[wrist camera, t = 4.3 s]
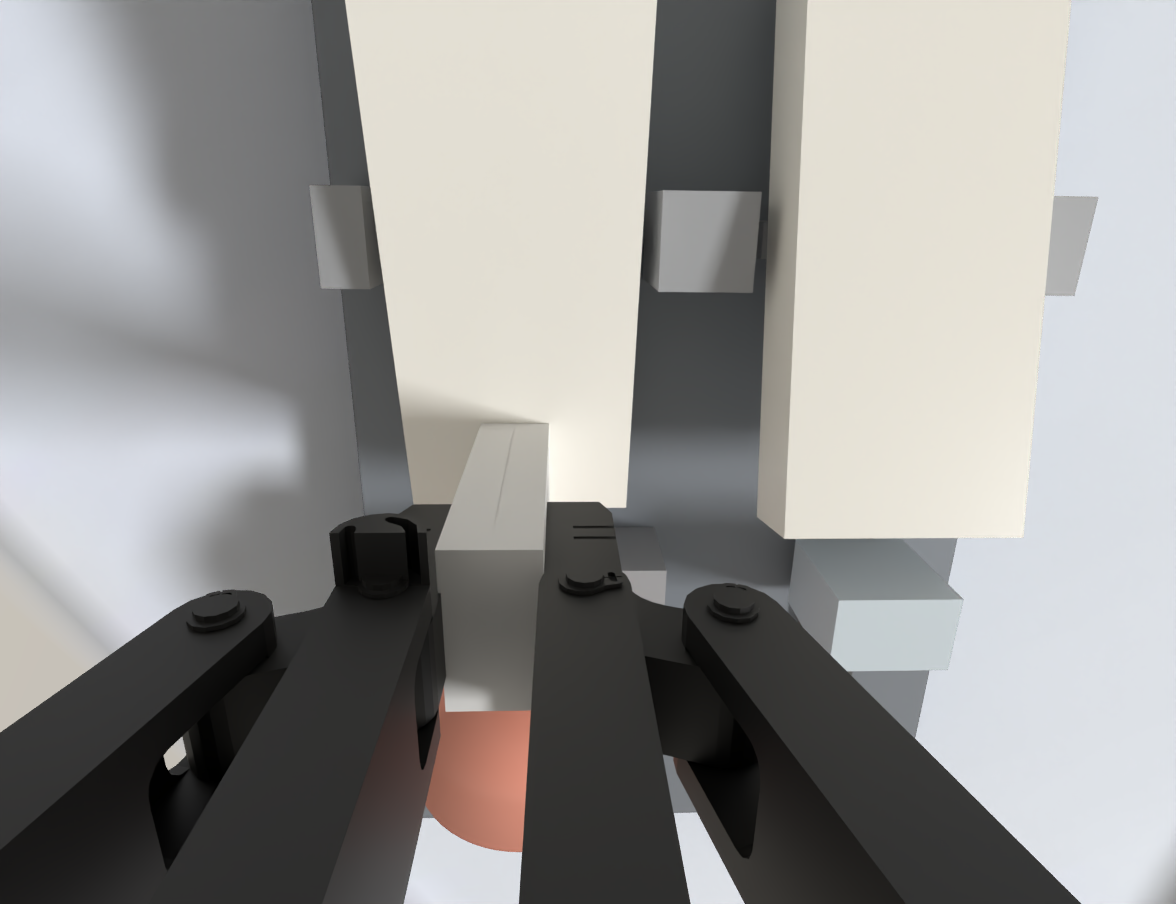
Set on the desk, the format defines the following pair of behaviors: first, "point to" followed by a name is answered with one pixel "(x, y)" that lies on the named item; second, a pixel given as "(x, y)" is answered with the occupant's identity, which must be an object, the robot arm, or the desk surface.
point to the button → (481, 776)
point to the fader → (874, 604)
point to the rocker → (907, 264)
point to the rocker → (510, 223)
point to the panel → (648, 317)
